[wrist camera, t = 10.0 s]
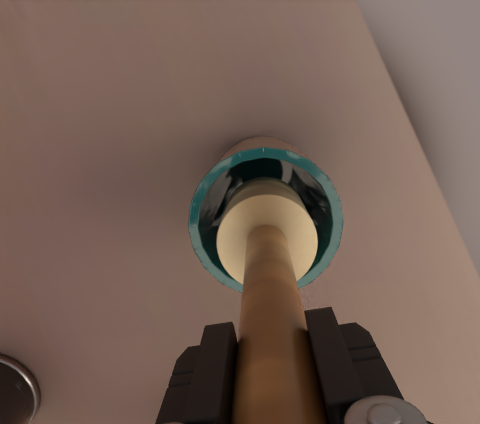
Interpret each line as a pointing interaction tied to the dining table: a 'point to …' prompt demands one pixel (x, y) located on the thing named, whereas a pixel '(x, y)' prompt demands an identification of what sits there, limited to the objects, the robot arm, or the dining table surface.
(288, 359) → the wooden peg with cap
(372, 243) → the dining table surface
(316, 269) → the teal cylindrical container
